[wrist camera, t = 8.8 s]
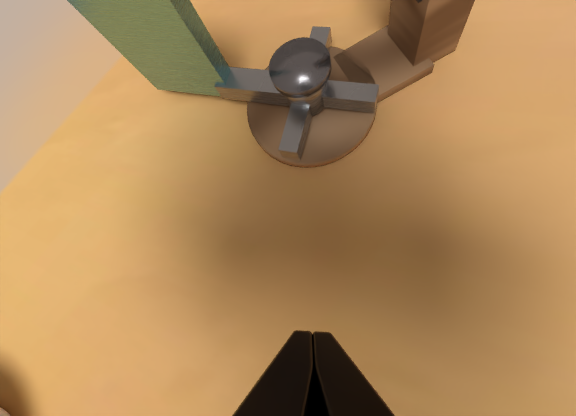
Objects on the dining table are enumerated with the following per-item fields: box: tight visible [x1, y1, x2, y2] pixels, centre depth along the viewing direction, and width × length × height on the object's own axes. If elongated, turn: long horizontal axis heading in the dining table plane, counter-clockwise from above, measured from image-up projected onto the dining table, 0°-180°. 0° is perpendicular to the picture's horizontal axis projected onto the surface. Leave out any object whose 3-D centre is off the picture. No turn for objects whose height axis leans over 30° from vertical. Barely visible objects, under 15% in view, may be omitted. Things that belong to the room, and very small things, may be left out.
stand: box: [247, 0, 475, 167], centre depth 17 cm, size 9×15×10 cm, turn 116°
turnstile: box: [67, 0, 379, 160], centre depth 18 cm, size 9×16×9 cm, turn 75°
